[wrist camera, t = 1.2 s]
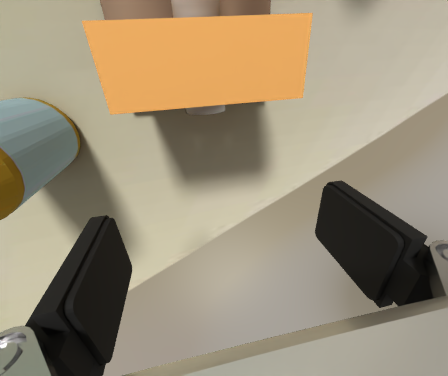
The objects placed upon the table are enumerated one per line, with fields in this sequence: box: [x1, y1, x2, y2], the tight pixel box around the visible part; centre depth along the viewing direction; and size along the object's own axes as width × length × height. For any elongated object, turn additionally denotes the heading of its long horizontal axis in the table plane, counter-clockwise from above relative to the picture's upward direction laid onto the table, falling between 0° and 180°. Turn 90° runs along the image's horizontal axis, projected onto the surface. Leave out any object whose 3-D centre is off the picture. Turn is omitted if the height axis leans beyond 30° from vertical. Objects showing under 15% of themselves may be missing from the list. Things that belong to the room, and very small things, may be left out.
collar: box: [82, 13, 313, 114], centre depth 15 cm, size 11×4×9 cm, turn 93°
